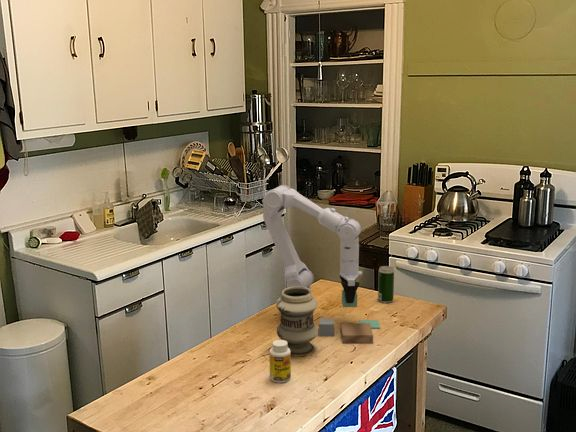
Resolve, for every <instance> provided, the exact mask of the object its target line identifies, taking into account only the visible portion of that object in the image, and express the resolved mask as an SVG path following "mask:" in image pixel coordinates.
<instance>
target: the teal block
mask: <svg viewBox="0 0 576 432" xmlns="http://www.w3.org/2000/svg"><path fill="white" fill-rule="evenodd" d="M341 304H342V308H357V307H358V292H357V291H356V294H355V298H354V302H353V303H346V298H345V292H344V289H341Z"/></svg>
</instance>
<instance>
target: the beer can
mask: <svg viewBox="0 0 576 432" xmlns="http://www.w3.org/2000/svg"><path fill="white" fill-rule="evenodd" d="M377 280H378V281H377V282H378V285H377V287H378V288H377V300H378V302H379V303H382V304H390V303H392V302H393V301H394V296H395V295H394V289H395V288H394V287H395V270H394V267H393V266H389V265H382V266H379V269H378V279H377Z"/></svg>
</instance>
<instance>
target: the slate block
mask: <svg viewBox="0 0 576 432" xmlns="http://www.w3.org/2000/svg"><path fill="white" fill-rule="evenodd" d="M318 335H319V337H334V336H335V321H334V318H328V317H327V318H318Z"/></svg>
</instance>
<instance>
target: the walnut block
mask: <svg viewBox="0 0 576 432" xmlns="http://www.w3.org/2000/svg"><path fill="white" fill-rule="evenodd" d="M340 336H341V340H342V344H343V345H344V344H374V333H373V330H372V329H371V326H370V323H360V322H358V323H357V322H342V323H340Z"/></svg>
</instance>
